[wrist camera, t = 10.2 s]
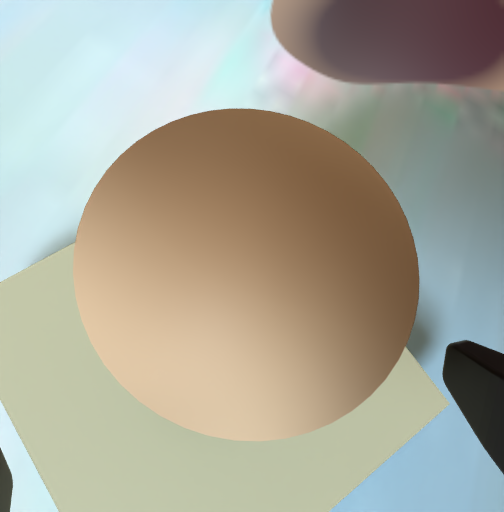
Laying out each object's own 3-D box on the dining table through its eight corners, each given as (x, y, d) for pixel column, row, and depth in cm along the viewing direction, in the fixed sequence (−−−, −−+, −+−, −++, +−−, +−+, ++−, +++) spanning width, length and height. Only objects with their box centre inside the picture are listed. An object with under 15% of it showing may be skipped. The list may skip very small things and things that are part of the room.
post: (230, 441, 16) (336, 519, 5) (129, 381, 17) (-9, 316, 5) (284, 337, 18) (462, 204, 6) (190, 284, 18) (194, 59, 7)
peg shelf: (154, 624, 17) (144, 675, 14) (-8, 326, 20) (-49, 308, 17) (408, 406, 21) (449, 403, 18) (243, 185, 24) (252, 147, 21)
